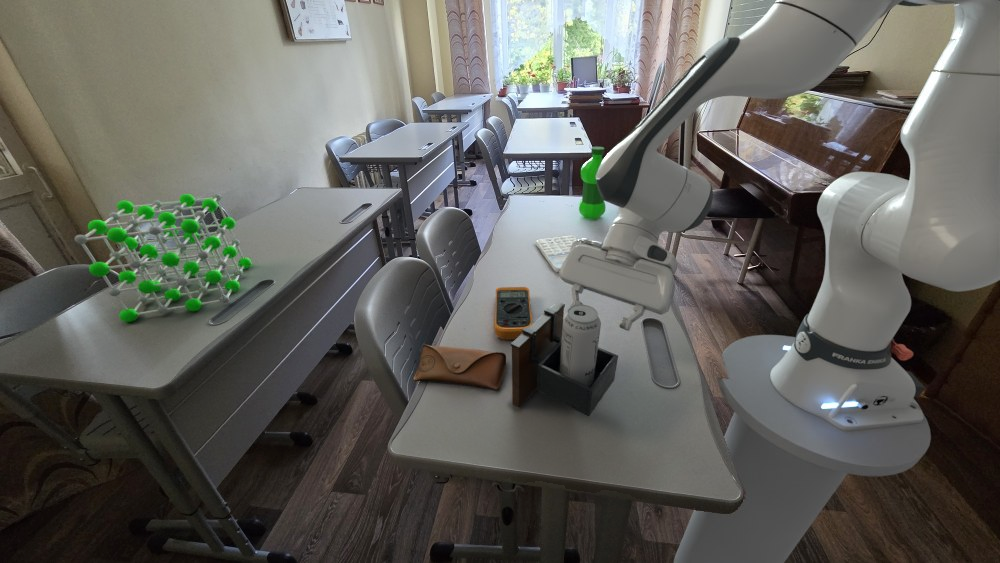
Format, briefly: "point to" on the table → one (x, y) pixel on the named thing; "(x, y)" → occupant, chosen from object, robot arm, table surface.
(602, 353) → the dark grey open box
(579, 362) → the energy drink can
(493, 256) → the table surface
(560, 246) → the calculator
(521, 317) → the multimeter
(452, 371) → the sunglasses case
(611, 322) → the table surface
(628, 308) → the table surface
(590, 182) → the plastic bottle
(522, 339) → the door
